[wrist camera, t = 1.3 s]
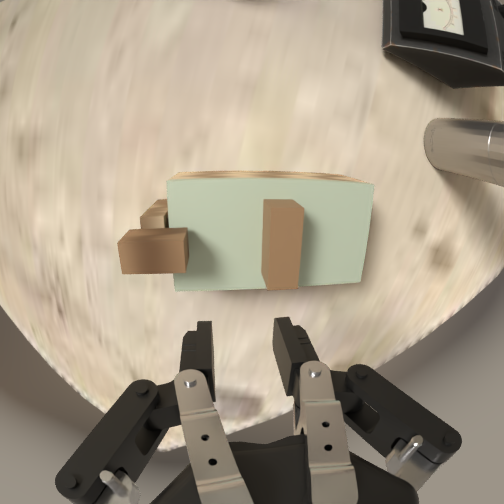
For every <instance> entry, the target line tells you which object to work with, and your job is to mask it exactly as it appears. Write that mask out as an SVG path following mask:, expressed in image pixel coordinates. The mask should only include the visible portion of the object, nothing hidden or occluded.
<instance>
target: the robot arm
mask: <svg viewBox="0 0 504 504" xmlns="http://www.w3.org/2000/svg"><path fill="white" fill-rule="evenodd" d="M424 146H425V152H426V155H427V157H428V159H429V161H430V162H431V164H432V165H433V166H434V167H435V168H437V169H439V170H443V171H448V172H452V173H455V174H459V175H463V176H467V177H471V178H475V179H478V180H482V181H486V182H489V183H492V184H496V185H499V186H502V187H504V121H492V120H478V119H455V118H437V119H434V120H432V121H431V122H430V123H429V124H428V126H427V128H426V131H425V136H424ZM273 351H274V355H275V358H276V362H277V365H278V369H279V372H280V376H281V379H282V382H283V386H284V389H285V393H286V396H293V397H294V404H293V414H294V415H293V416H294V436H289V437H286V438H283V439H281V440H278V441H276V442H272V443H269V444H255V443H247V442H228V440H227V438H226V435H225V432H224V429H223V426H222V423H221V420H220V417H219V414H218V412H217V410H215V407H214V404H213V402H216V399H215V374H214V347H213V334H212V321H198V322H197V331H188V332H187V333H186V334H185V336H184V337H183V343H182V352H181V361H180V370H179V373H178V374H177V375H176V376H175V379H174V380H173V381H171V382H169V383H166V384H162V385H158V386H156V384H155V383H153V382H152V381H150V380H144V379H142V380H137V381H135V382H133V383H131V384H130V385H129V386H128V388H127V389H126V390H125V391H124V393H123V394H122V395H121V396H120V397H119V399H118V400H117V401H116V402H115V403H114V405H113V406H112V407H111V408H110V410H109V411H108V412H107V413H106V414H105V416H104V417H103V418H102V419H101V421H100V422H99V423H98V424H97V425H96V427H95V428H94V429H93V430H92V432H91V433H90V434H89V435H88V437H87V438H86V439H85V440H84V441H83V443H82V444H81V445H80V446H79V448H78V449H77V450H76V451H75V453H74V454H73V455H72V456H71V457H70V459H69V460H68V461H67V462H66V464H65V465H64V466H63V467H62V469H61V470H60V471H59V472H58V474H57V475H56V478H55V485H56V488H57V490H58V491H59V492H60V493H61V494H62V495H63V496H64V497H66V498H67V499H69V500H70V501H71V502H72V503H73V504H138V501H139V499H140V490H139V488H138V487H137V486H136V485H135V482H136V481H137V479H138V477H139V476H140V474H141V473H142V471H143V469H144V468H145V466H146V465H147V463H148V461H149V460H150V458H151V457H152V455H153V454H154V452H155V450H156V449H157V447H158V446H159V444H160V442H161V441H162V439H163V437H164V436H165V434H166V433H167V431H168V429H169V428H170V427H174V426H178V425H182V429H183V433H184V438H185V442H186V446H187V450H188V454H189V458H190V464H189V465H188V466H187V467H186V468H185V469H184V470H183V471H182V472H181V473H180V474H179V475H178V476H177V477H176V478H175V479H174V480H173V481H172V482H171V483H170V484H169V485H168V486H167V487H166V488H165V489H164V490H163V491H162V492H161V493H160V494H159V495H158V496H157V497H156V498H155V499H154V500H153V501H152V502H151V503H150V504H419V498H418V494H417V491H418V490H419V489H420V488H421V487H422V486H423V485H424V483H425V482H426V481H427V480H428V479H429V478H430V477H431V475H432V474H433V473H434V472H435V471H437V470H438V469H439V468H440V467H441V466H442V465H443V464H444V463H445V462H446V461H447V460H448V459H449V458H450V457H451V456H453V454H454V453H455V452H456V451H457V450H458V449H459V448H460V447H461V443H462V439H461V436H460V434H459V433H458V431H456V430H455V429H454V428H452V427H451V426H449V425H448V424H447V423H445V422H444V421H442V420H441V419H440V418H438V417H437V416H435V415H434V414H432V413H431V412H430V411H428V410H427V409H425V408H424V407H423V406H422V405H420V404H419V403H418V402H416V401H415V400H413V399H412V398H411V397H409V396H408V395H407V394H405V393H404V392H403V391H401V390H400V389H398V388H397V387H396V386H394V385H393V384H392V383H390V382H389V381H388V380H386V379H385V378H384V377H382V376H381V375H380V374H378V373H377V372H376V371H374V370H373V369H372V368H370V367H369V366H366V365H363V364H356V365H353V366H351V367H350V368H349V369H348V371H347V372H341V371H333V370H330V369H329V367H328V366H327V365H326V364H324V363H322V362H320V361H319V358H318V356H317V354H316V352H315V350H314V348H313V346H312V344H311V341H310V339H309V337H308V335H307V333H306V331H305V330H304V329H303V328H302V327H301V326H299V325H297V326H293V325H292V323H291V320H290V318H289V317H281V318H275V319H274V329H273ZM365 402H366V403H367V404H368V405H367V404H366V403H365ZM370 406H371V407H372V408H373V409H374V410H373V409H372V408H371V407H370ZM376 411H377V412H378V413H377V412H376ZM344 422H345V423H346V424H348V425H349V426H350V427H351V428H352V429H353V430H354V431H355V432H356V433H357V434H359V435H360V436H361V437H362V438H363V439H364V440H365V441H366V442H368V443H369V444H370V445H371V446H372V447H373V448H374V449H376V450H377V451H378V452H379V453H380V454H381V455H382V456H384V457H385V458H386V460H385V463H386V467H387V471H388V472H387V471H385V470H383V469H381V468H379V467H377V466H375V465H374V464H372V463H370V462H368V461H366V460H364V459H362V458H360V457H359V456H357V455H355V454H354V453H352V452H350V451H349V449H348V442H347V437H346V431H345V425H344Z"/></svg>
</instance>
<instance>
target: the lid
mask: <svg viewBox="0 0 504 504" xmlns="http://www.w3.org/2000/svg"><path fill="white" fill-rule="evenodd" d="M373 194H374V185H373V184H370V183H365V182H352V181H338V180H321V179H298V178H193V179H171V180H168V181H167V202H168V219H169V228H182V227H188V242H189V260H188V265H187V270H186V273H173V277H174V286H175V291H215V290H243V289H265V288H267V290H284V289H298V287H301V286H317V285H331V284H345V283H357V282H360V281H361V276H362V271H363V265H364V260H365V254H366V248H367V241H368V234H369V227H370V220H371V212H372V203H373Z"/></svg>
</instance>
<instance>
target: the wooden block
mask: <svg viewBox="0 0 504 504" xmlns="http://www.w3.org/2000/svg"><path fill="white" fill-rule="evenodd" d="M117 244H118V251H119V257H120V263H121V269H122V274H163V273H186V270H187V265H188V260H189V242H188V227H182V228H156V229H133V230H129V231H128V232H127V233H126V234H125V235H124V236H123V237H122V238H121V240H120V241H119V242H118V243H117Z"/></svg>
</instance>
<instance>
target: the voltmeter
mask: <svg viewBox="0 0 504 504" xmlns="http://www.w3.org/2000/svg"><path fill="white" fill-rule="evenodd" d="M382 49H383V50H385V51H387V52H389V53H391V54H393V55H395V56H397V57H399V58H401V59H403V60H405V61H407V62H409V63H411V64H413V65H415V66H417V67H418V68H420V69H422V70H424V71H425V72H427V73H429V74H431V75H432V76H434V77H436V78H437V79H439V80H440V81H442V82H444V83H445V84H447V85H448V86H450V87H451V88H453V89H456V88H468V87H488V86H504V5H502V4H501V3H500V2H499V1H498V0H383V25H382Z"/></svg>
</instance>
